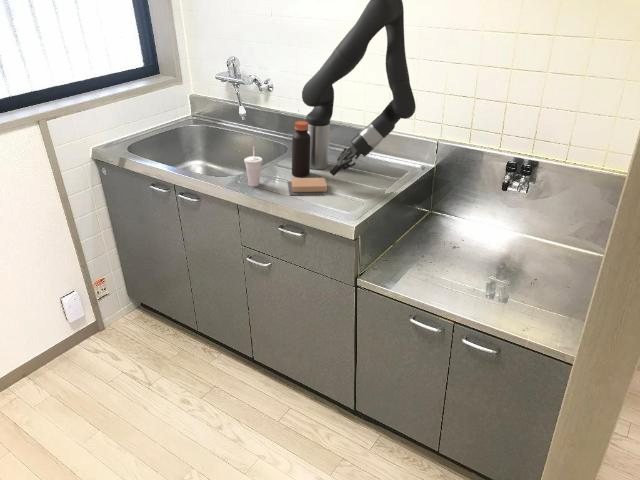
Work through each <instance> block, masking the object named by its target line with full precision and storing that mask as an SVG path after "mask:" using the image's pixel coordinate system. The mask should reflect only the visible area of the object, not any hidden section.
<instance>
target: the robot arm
mask: <svg viewBox="0 0 640 480" xmlns="http://www.w3.org/2000/svg"><path fill="white" fill-rule="evenodd" d="M404 14H405V13H404V3H403V0H369V2H368V3H367V5H366V6H365V8H364V10H363V11H362V13H361V14H360V15H359V18H358V19H357V21H356V23H355V24H354V25H353V26H352V27H351V29H350V30H349V31H348V32H347V34H346V35H345V36H344V37H343V38H342V40H340V42H339V43H338V44H337V46H336V47H335V48H334V50H333V51H332V53H331V54H330V56H328V58H327V59H326V61H325V62H324V63H323V65H322V66H321V67H320V69H319V70H318V71H316V73H315V74H314V75H313V76H312V77H311V78H310V79H309V80H308V81H307V82H306V83H305V84H304V85H303V88H302V91H301V99H302V102H303V103H304V104H305V105H306V106H307V107H312V108H313V109H312V110H311V111H310V112H309V113H308V114H307V115H306V118H305V122H308V131H307V133H308V134H309V135H310V137H311V140H310V169H313V170H322V169H325V168H328V167H329V154H330V153H329V151H330V134H331V133H330V128H331V120H332V116H333V113H334V100H335V90H334V86H333V85H334V84H335V83H336V82H338V81H339V80H341V79H343V78H344V77H346V76H347V75H349V74H350V73H351V72H352V71H353V70H355V68H356V67H357V65H358V64H359V63H360V62H361V61H362V59H363V58H364V56H365V55H366V52H367V49H368V46H369V44H370V42H371V41H372V39H373V38H374V37H375V36H376V35H377V34H378V33H379V32H380V31H381V30H382V29H383V28H384V27H385V33H386V43H387V44H386V54H385V72H386V77H387V82H388V87H389V88H390V90H391V94H392V100H391V101H390V102H389V103H388V104H387V105H386V107H385V108H384V109H383V110H382V112H381V113H380V114H379V115H378V116H376V117H375V119H373V120H372V121H371V122H370V123H369V124H368V125H366V126H365V127H364V128H363V129H362V130H360V132H359V133H357V134H356V135H355V136H354V137H353V138H352V139H351V140H350V144H352V145H351V146H349V147H348V148H343V150H342V151H341V153H340V155H338V157H337V159H336V163H335V164H334V165H333V166H332V167H331V168H330V169H329V173H330V174H331V175H332V176H336V175H337V173H339V172H340V171H341V170H343V171H345V170H347V169H349V168H351V167H354V166H356V161H357V160H358V159H359V157H360V156H361V155H362V156H363V157H367V156H368V155H369V154H370V153H371V152H372V151H374V149H375V148H376V147H377V146H379V144H381V142H382V141H383V140H384V139H385V138H386V137H387V136H388V135H389V134H391V132H392V131H393V130H394V129H395V127H396V124H397V123H398V122H399V121H400V120H401V119H407V120H408V119H409V118H411V117H412V116H413V115H414V114H415V112H416V101H415V96H414V92H413V90H412V86H411V82H410V81H411V80H410V74H409V68H408V63H407V57H406V46H405V22H404V21H405V18H404V17H405V15H404ZM327 166H328V167H327Z"/></svg>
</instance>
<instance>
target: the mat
mask: <svg viewBox="0 0 640 480" xmlns="http://www.w3.org/2000/svg"><path fill="white" fill-rule="evenodd" d="M287 187H288V192H289V196H291V197H293V196H295V197H296V196H298V197H299V196H325V192H293V190H292V185H291V181H287Z"/></svg>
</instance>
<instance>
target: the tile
mask: <svg viewBox="0 0 640 480" xmlns="http://www.w3.org/2000/svg"><path fill="white" fill-rule="evenodd" d="M290 182H291V185H292V190H293V192H324V193H325V192H327V191H328V184H327V182H326V180H325V178H324V177H294V178H291V179H290Z"/></svg>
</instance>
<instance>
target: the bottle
mask: <svg viewBox="0 0 640 480" xmlns="http://www.w3.org/2000/svg"><path fill="white" fill-rule="evenodd" d="M294 131H295V132H294V133H293V134H292V136H291V139H292V140H291V148H292V149H291V175H292V176H294V177H295V178H307V177H308V176H310V171H311V168H310V140H311V137H310V135H309V134H308V133H307V131H308V122H306V121H302V120H299V121H295V122H294Z"/></svg>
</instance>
